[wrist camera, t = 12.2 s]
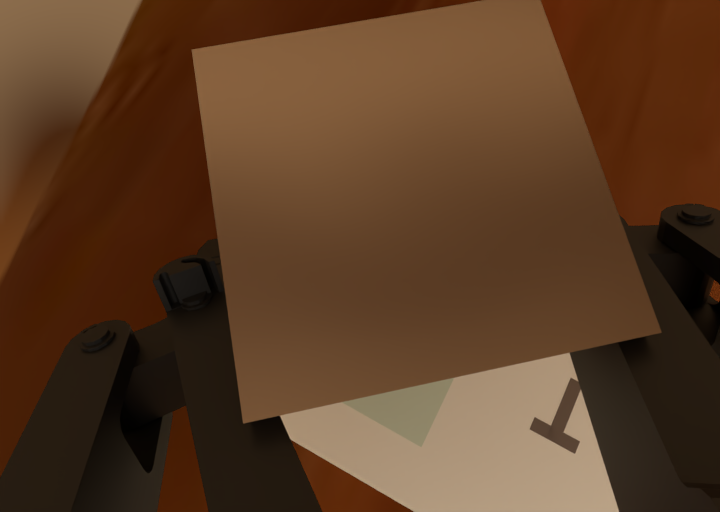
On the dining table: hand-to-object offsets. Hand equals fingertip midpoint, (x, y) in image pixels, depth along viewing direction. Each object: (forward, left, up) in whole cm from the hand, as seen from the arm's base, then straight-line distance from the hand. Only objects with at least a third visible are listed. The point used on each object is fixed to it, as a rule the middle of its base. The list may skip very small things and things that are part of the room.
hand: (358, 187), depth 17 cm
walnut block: (+3, +2, -3) cm, 5 cm away
